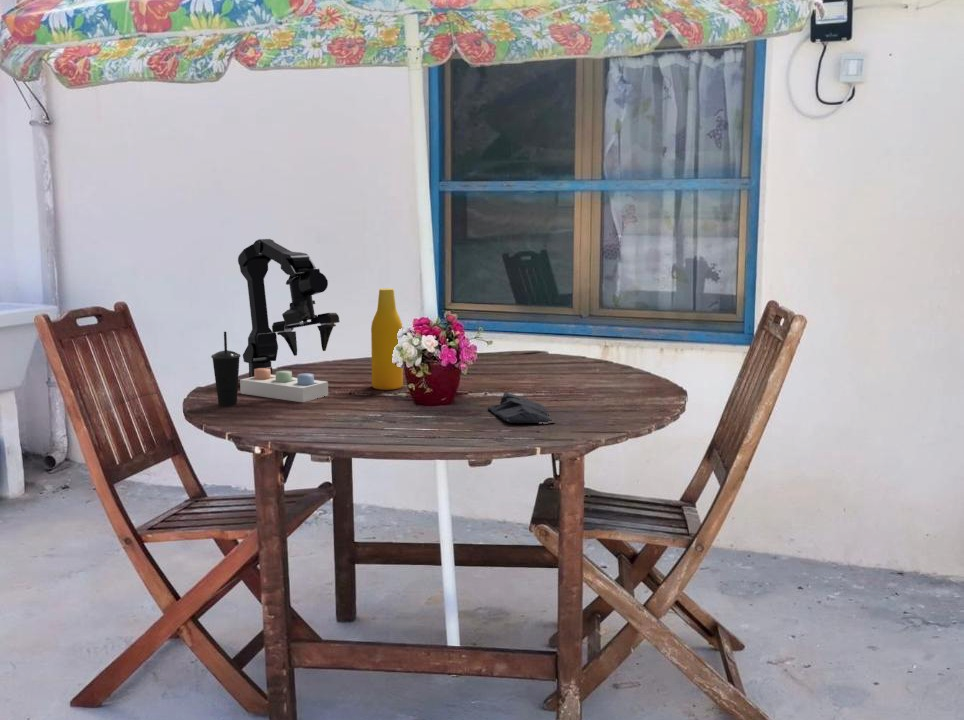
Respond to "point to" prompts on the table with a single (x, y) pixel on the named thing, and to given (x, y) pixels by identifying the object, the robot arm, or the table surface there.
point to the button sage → (283, 376)
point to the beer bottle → (385, 343)
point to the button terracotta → (262, 373)
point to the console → (283, 389)
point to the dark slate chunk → (519, 410)
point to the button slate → (305, 379)
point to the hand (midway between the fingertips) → (309, 353)
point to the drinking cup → (226, 375)
